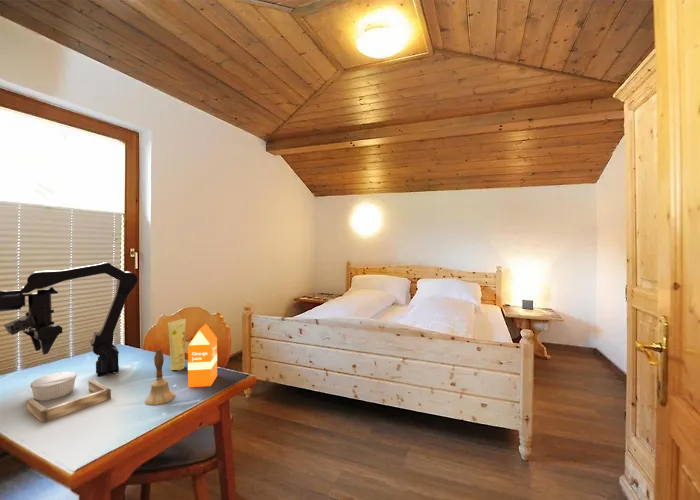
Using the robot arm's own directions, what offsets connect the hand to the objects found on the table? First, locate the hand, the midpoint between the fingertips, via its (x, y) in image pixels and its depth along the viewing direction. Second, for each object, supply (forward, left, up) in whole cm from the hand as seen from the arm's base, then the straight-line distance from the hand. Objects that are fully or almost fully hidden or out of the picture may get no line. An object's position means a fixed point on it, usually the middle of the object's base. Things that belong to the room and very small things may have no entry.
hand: (41, 352), depth 110 cm
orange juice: (-46, +28, -12) cm, 55 cm away
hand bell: (-32, +34, -12) cm, 48 cm away
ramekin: (-4, +10, -12) cm, 16 cm away
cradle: (-9, +21, -12) cm, 26 cm away
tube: (-40, +10, -12) cm, 43 cm away
